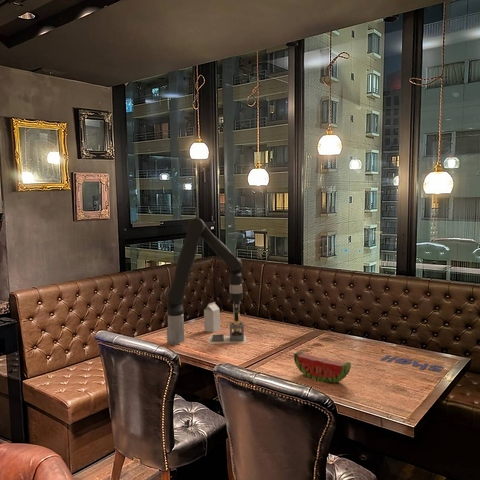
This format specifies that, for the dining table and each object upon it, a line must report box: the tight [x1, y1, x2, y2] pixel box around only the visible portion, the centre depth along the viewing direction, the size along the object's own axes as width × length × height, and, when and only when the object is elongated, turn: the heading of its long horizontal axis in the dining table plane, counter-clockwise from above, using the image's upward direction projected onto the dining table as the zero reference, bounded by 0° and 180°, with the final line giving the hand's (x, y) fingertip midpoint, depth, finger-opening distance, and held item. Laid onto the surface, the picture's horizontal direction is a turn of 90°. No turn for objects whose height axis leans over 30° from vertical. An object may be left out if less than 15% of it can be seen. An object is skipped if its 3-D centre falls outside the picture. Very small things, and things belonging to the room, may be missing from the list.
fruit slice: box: [293, 350, 352, 384], centre depth 200 cm, size 26×6×10 cm, turn 52°
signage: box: [380, 354, 445, 372], centre depth 217 cm, size 28×1×10 cm
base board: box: [208, 335, 247, 345], centre depth 256 cm, size 22×14×2 cm, turn 92°
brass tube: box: [232, 311, 241, 336], centre depth 255 cm, size 4×4×16 cm
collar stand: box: [211, 321, 245, 342], centre depth 255 cm, size 18×8×9 cm, turn 91°
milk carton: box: [203, 301, 221, 333], centre depth 274 cm, size 7×7×19 cm
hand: (236, 319), depth 255 cm, fingers open, 8 cm apart
